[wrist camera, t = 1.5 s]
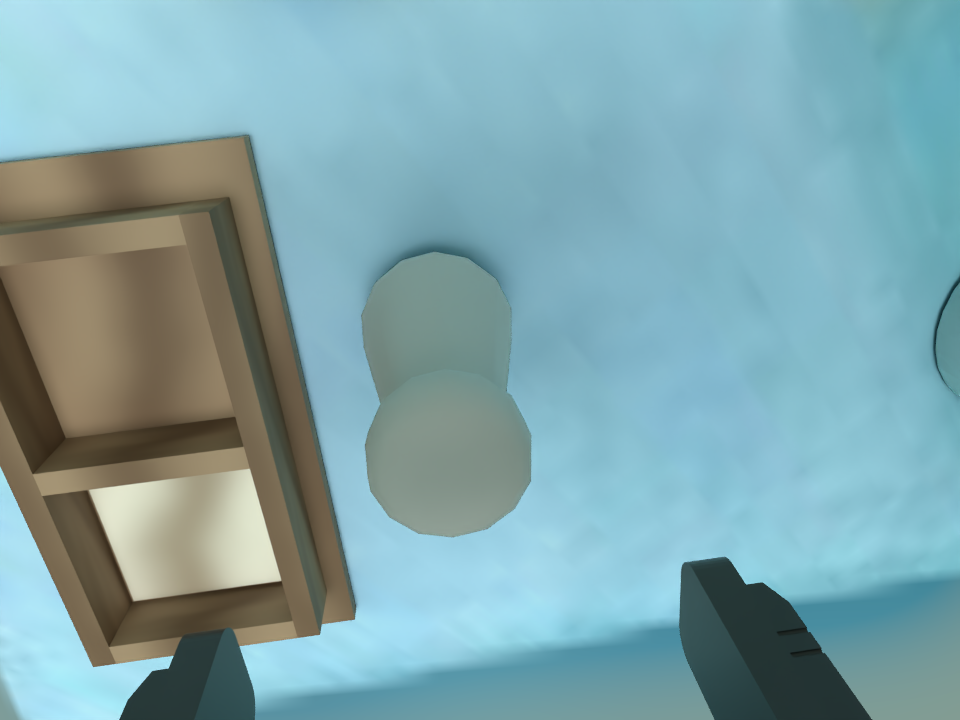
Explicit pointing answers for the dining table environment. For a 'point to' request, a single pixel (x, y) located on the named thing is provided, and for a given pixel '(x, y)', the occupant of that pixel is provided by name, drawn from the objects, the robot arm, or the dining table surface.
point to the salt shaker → (443, 398)
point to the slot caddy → (161, 402)
